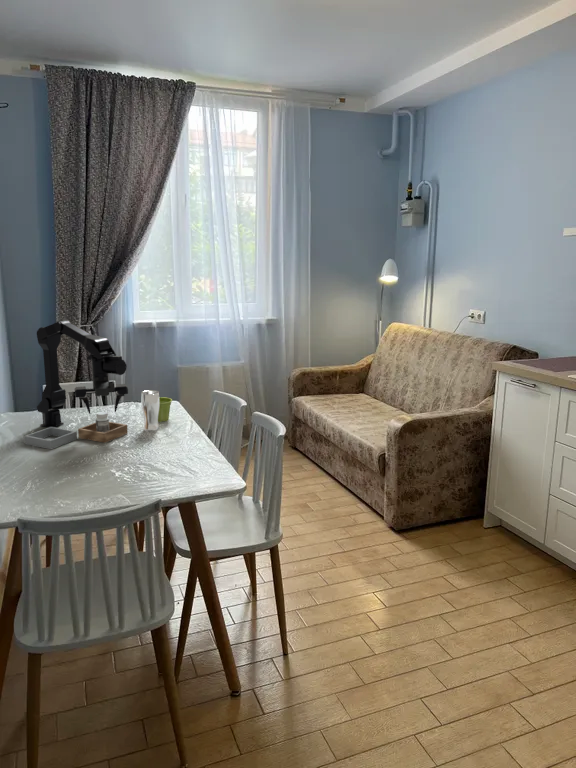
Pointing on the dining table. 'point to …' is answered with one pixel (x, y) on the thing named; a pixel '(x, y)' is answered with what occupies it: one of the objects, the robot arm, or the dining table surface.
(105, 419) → the pill bottle
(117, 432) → the walnut bin
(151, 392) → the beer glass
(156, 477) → the dining table surface
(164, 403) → the plant pot
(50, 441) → the bin
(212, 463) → the dining table surface
